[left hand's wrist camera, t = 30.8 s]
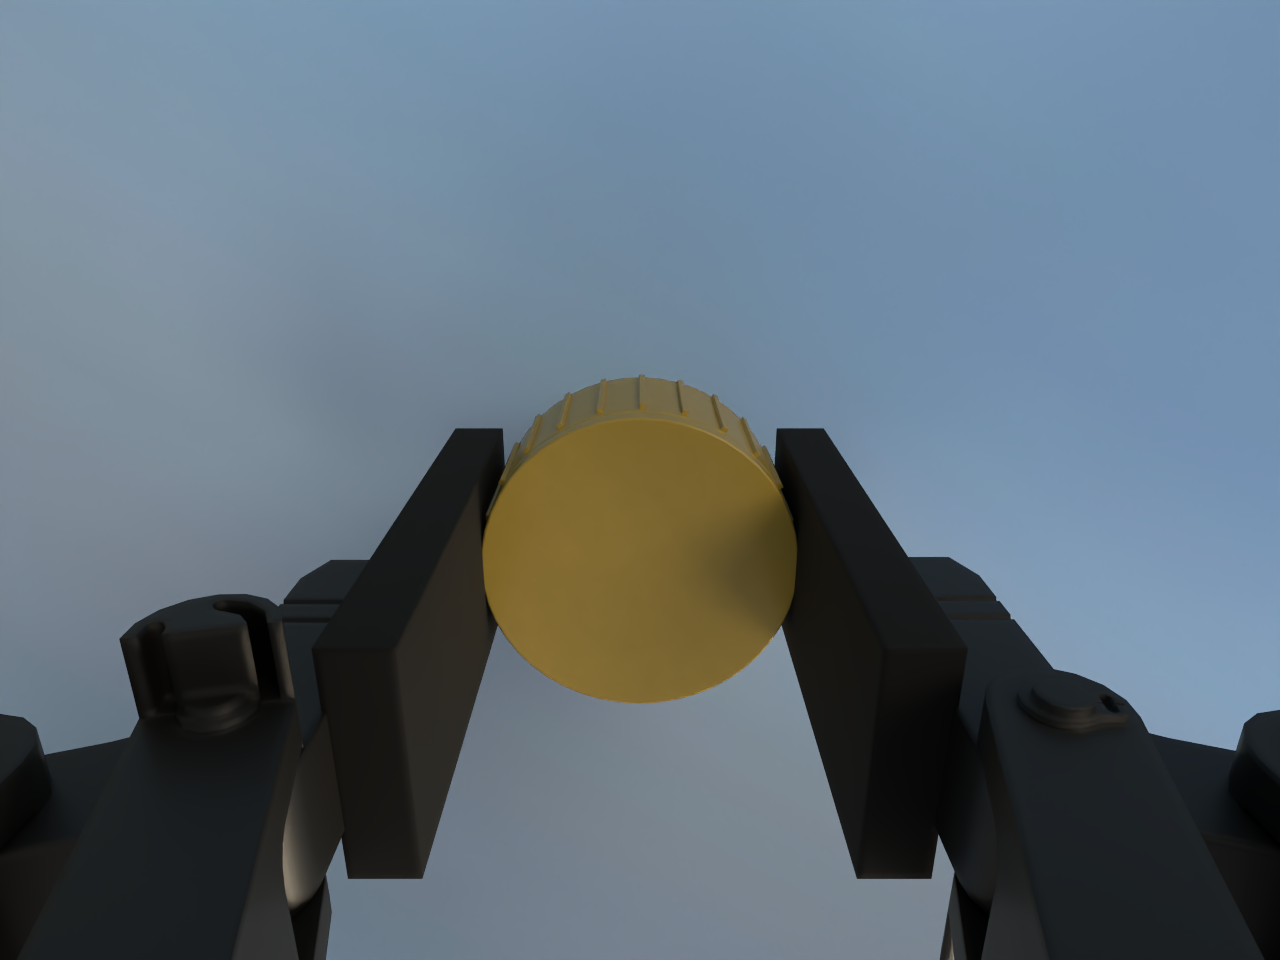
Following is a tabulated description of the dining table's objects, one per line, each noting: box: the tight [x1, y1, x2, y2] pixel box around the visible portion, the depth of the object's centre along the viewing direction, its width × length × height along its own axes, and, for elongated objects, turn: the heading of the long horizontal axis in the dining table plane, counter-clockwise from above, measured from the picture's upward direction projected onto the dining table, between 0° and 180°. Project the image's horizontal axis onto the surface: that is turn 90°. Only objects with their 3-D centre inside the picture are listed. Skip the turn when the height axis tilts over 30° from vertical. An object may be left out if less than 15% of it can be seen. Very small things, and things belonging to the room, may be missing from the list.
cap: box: [482, 375, 797, 703], centre depth 13 cm, size 5×5×2 cm
